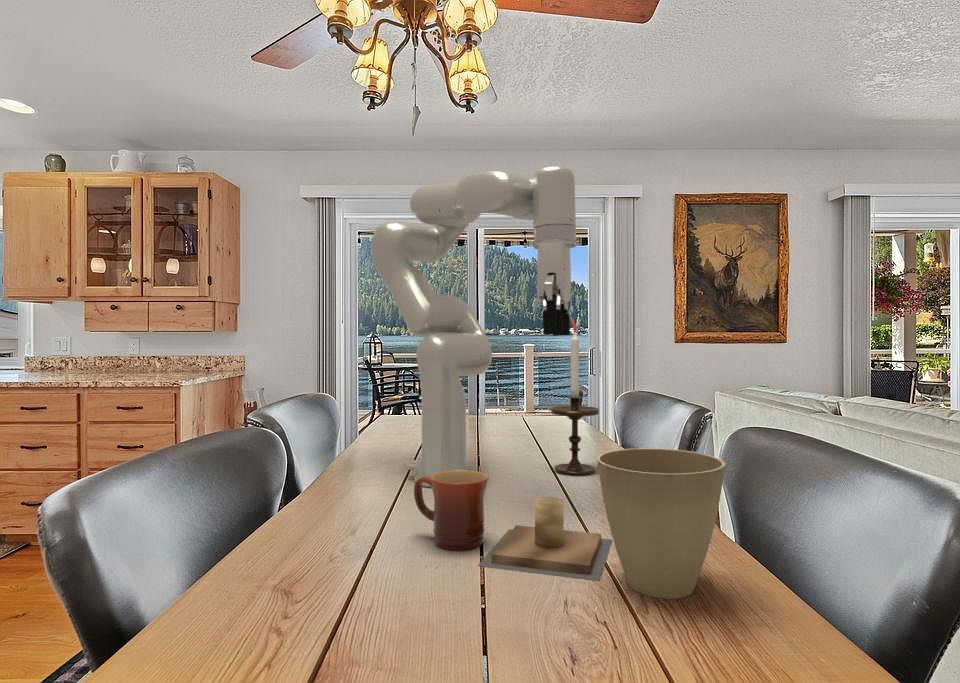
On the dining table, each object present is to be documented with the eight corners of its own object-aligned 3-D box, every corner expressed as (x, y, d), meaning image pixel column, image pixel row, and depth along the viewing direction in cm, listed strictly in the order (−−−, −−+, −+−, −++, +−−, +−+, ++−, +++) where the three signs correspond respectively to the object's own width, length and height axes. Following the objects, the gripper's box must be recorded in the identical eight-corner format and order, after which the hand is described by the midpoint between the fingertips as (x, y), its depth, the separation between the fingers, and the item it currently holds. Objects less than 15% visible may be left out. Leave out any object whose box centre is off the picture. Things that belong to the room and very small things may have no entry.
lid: (491, 563, 81) (491, 509, 81) (516, 532, 93) (516, 486, 93) (589, 574, 77) (589, 518, 77) (601, 541, 89) (601, 493, 89)
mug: (498, 541, 91) (498, 473, 91) (470, 561, 83) (470, 486, 83) (431, 529, 96) (431, 465, 96) (399, 546, 88) (399, 477, 88)
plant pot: (629, 557, 84) (629, 443, 84) (740, 585, 75) (741, 457, 75) (574, 592, 73) (574, 460, 72) (698, 631, 63) (698, 479, 63)
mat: (477, 569, 80) (477, 565, 80) (509, 532, 95) (509, 529, 95) (599, 584, 75) (599, 580, 75) (612, 543, 90) (612, 539, 90)
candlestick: (542, 468, 140) (542, 318, 140) (581, 464, 145) (581, 319, 145) (567, 478, 131) (568, 317, 130) (608, 474, 135) (609, 318, 135)
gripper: (542, 247, 117) (544, 336, 117) (524, 231, 100) (527, 334, 100) (581, 245, 115) (583, 335, 115) (569, 228, 98) (572, 333, 98)
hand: (557, 334), depth 107 cm, fingers open, 9 cm apart
